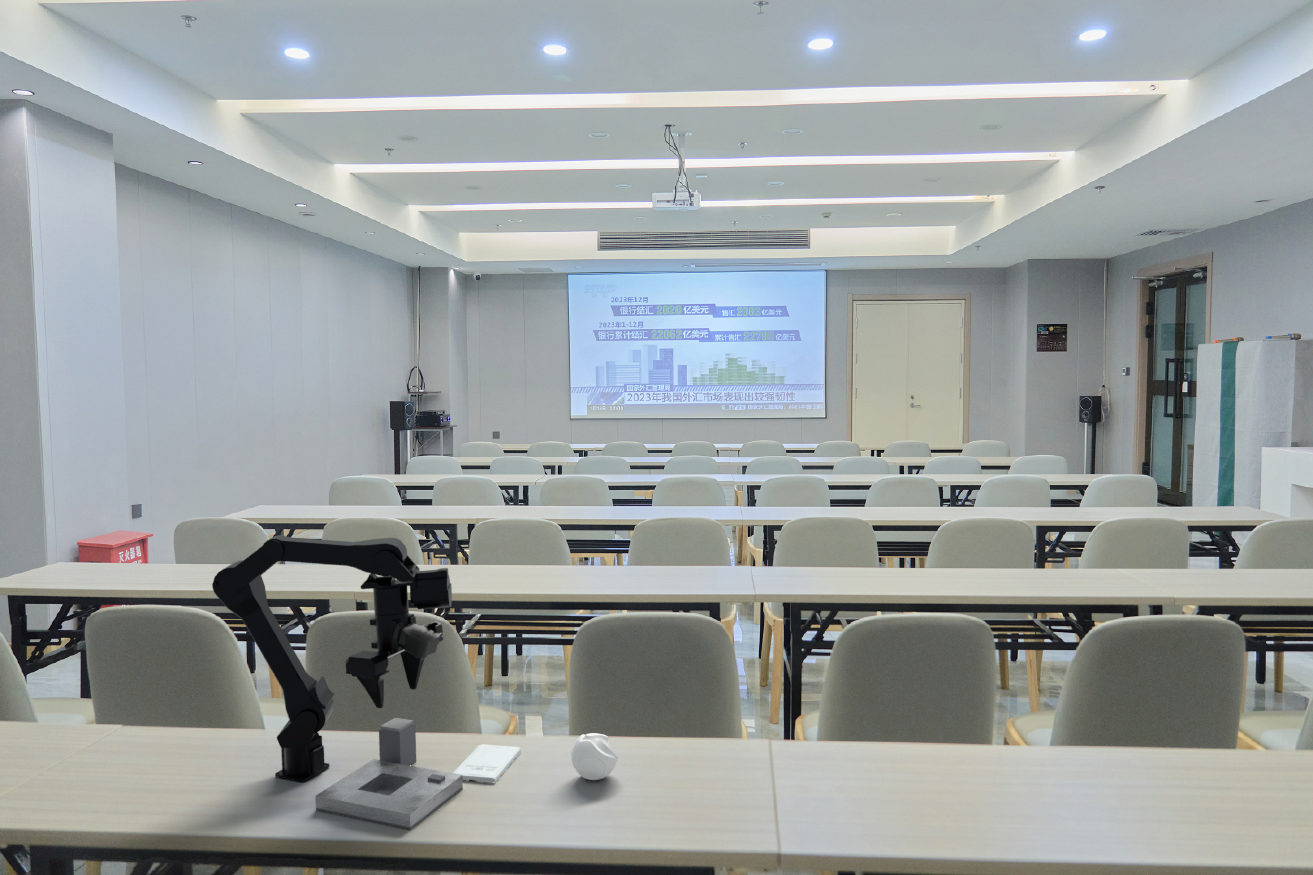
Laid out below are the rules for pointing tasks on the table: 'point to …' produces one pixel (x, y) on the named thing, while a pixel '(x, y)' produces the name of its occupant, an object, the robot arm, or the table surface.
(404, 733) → the plug
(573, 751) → the motion sensor
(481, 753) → the external hard drive
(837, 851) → the table surface
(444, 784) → the socket
